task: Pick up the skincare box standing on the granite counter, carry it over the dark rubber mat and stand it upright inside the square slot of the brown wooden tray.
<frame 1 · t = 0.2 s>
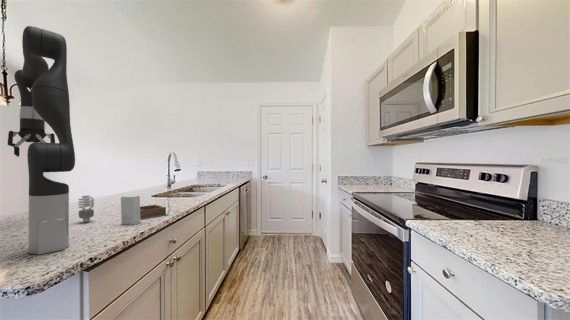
hand: (32, 156, 108), 29 cm above the countertop, fingers open, 8 cm apart
mat: (146, 215, 126), on the countertop
light bulb: (86, 222, 112), on the countertop
brown wooden tray: (149, 215, 127), resting on mat
skincare box: (130, 224, 110), on the countertop
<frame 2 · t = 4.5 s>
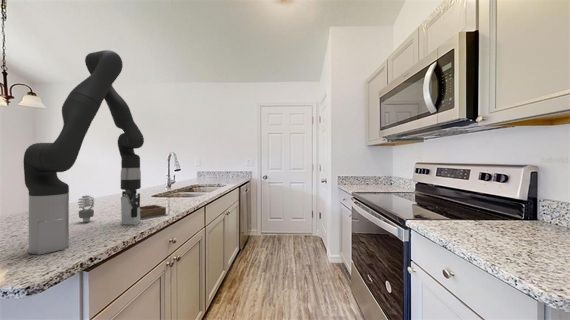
hand: (130, 215, 110), 3 cm above the countertop, fingers closed on skincare box, 7 cm apart
skincare box: (130, 224, 110), on the countertop, touching gripper
everything else where it was.
when the fingers open (5 cm above the countertop, at t = 10.3 s): skincare box drops 1 cm, resting on mat.
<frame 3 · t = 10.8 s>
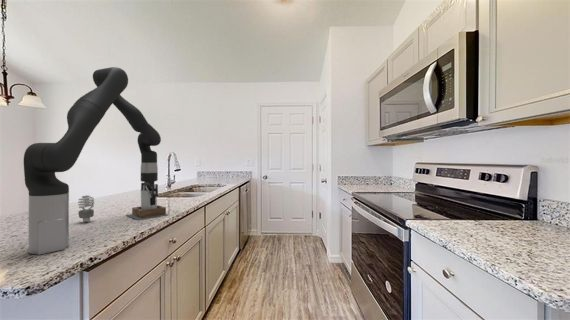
hand: (149, 204, 127), 6 cm above the countertop, fingers open, 8 cm apart
skincare box: (148, 214, 126), resting on mat
everything else where it was.
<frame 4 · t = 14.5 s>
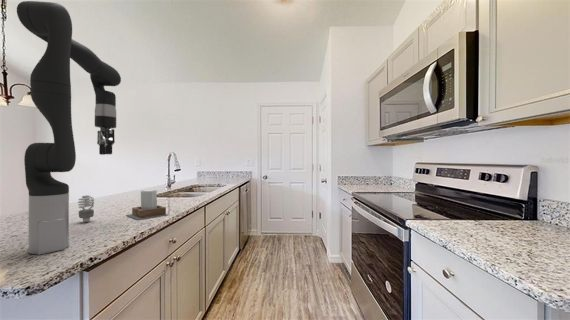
hand: (105, 154, 107), 30 cm above the countertop, fingers open, 8 cm apart
nothing on the countertop moved.
at the end: skincare box inside the target area on the brown wooden tray (0.1 cm from its centre), point 0.2 cm above the brown wooden tray's base; skincare box tilted 0°; the gripper is holding nothing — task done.
